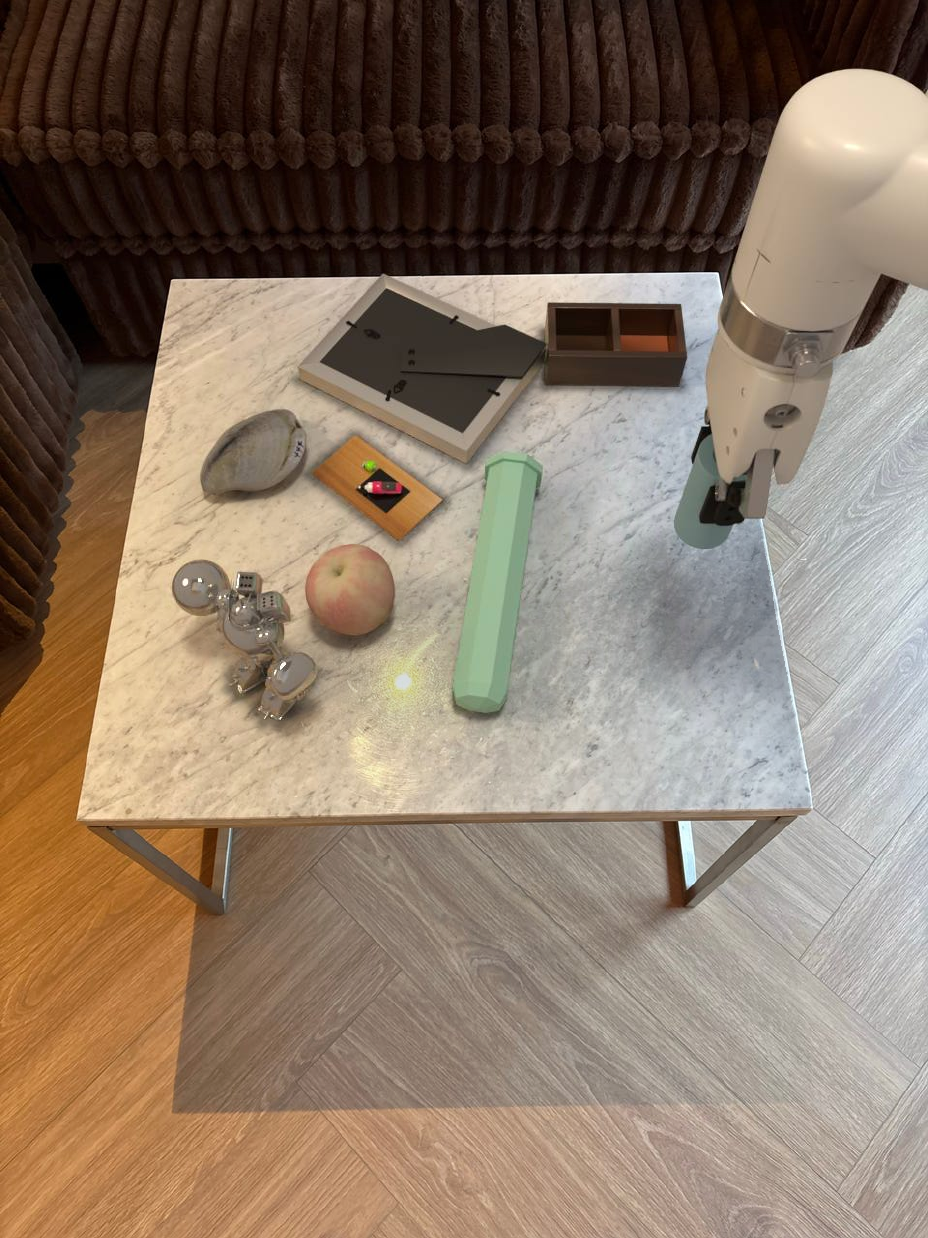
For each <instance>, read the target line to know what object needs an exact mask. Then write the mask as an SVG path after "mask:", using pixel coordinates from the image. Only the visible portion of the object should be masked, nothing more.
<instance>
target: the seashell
mask: <svg viewBox="0 0 928 1238" xmlns="http://www.w3.org/2000/svg"><path fill="white" fill-rule="evenodd" d="M307 439H308V436H307V433H306V431H305V429H304V427H303V425H302V424H301V423H300V420H299V419H298V418H297V416H296V414H295V413H294V412H293V411H291V410H290V409H284V408H281V409H280V408H277V409H272V410H266V411H262V412H260V413H259V412H258V413H257V414H254V415H251V416H250V417H247V418H245V419H243V420H240V421H238V422H237V423H235V424H233V425H232V426H230V427H229V428H227V430H225V431H224V432H223V433H222V435H220V437H219V438H218V439H217V440H216V442H215V443H214V445H213V446H212V447H211V449H210V451H209V452H208V453H207V454H206V457H205V458H204V460H203V463H202V466H201V469H200V473H199V474H200V475H199V481H200V486H201V489H202V491H203V492H205V493H207V494H210V495H213V496H219V495H221V494H223V493H227V492H229V491H235V490H236V491H237V490H238V491H242V492H257V491H263V490H267V489H270V488H272V487H274V486H276V485H278V484H280V483H281V482H282V481H283V480H285V479H286V478H287V477H288V476H289V475H290V474H291V473H293V472H294V471H295V469H296V468H297V466H298V465H299V463H300V462H301V460H302V458H303V456H304V452H305V450H306V443H307Z"/></svg>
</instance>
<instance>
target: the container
mask: <svg viewBox="0 0 928 1238" xmlns="http://www.w3.org/2000/svg"><path fill="white" fill-rule="evenodd" d="M543 469H544V465H543V464H541V463H540V462H539V461H537V460H536V459H535V458H533V456H531V455H530V454H529V453H523V452H514V451H508V450H503V451H500V452H498V453H496V454H494V455H492V456H490V457H488V458H486V459H485V463H484V481H485V482H486V486H485V492H484V498H483V502H482V503H483V504H482V510H481V516H480V522H479V527H478V533H477V538H476V545H475V550H474V555H473V556H474V557H473V564H472V569H471V575H470V580H469V587H468V593H467V598H466V603H465V611H464V616H463V622H462V628H461V634H460V640H459V645H458V653H457V659H456V664H455V669H454V674H453V675H454V676H453V680H452V681H453V683H452V693H453V698H454V701H455V704H456V705H457V706H459V707H461V708H463V709H464V710H467V711H469V712H477V713H483V714H488V713H493V712H498V711H500V710H501V708H502V707H503V705H504V703H505V702H506V701H507V696H508V695H507V694H508V690H509V689H508V688H509V681H510V675H511V668H512V660H513V653H514V646H515V640H516V639H515V638H516V631H517V625H518V617H519V609H520V605H521V604H520V603H521V597H522V596H521V595H522V588H523V582H524V577H525V576H524V574H525V568H526V560H527V555H528V554H527V553H528V548H529V547H528V546H529V540H530V533H531V525H532V518H533V511H534V504H535V496H536V489H538V488H540V487H541V486H542V479H543V478H542V477H543Z"/></svg>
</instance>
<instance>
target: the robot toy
mask: <svg viewBox="0 0 928 1238" xmlns="http://www.w3.org/2000/svg"><path fill="white" fill-rule="evenodd" d="M263 584H264V581H263V578H262V576H261V574H260V573H258V572H253V571H237V574H236V580H235V581H233V583H232V579H229V575H228V574H227V572H226V571H225V569H224V568H223V567H222V566H220V565H219V564H218V563H217V562H215V561H212V560H209V559H193V560H190V561H188V562H186V563H184V564H183V565H181V566H180V568H179V569H177V571H176V573H175V574H174V576H173V578H172V582H171V593H172V597H173V599H174V601H175V603H176V604H177V605H178V607H180V609H181V610H183V611H184V612H185V613H187V614H189V615H191V616H195V617H208V616H211V615H215V614H216V615H217V619H218V620H217V622H216V631H217V633H218V634H222V636H223V639H224V641H225V644H226V645H227V646H228V648H229V649H230V650H231V651H232V652H233V653H234V654H236V655H237V656H239V657H240V660H238V662H237V663H236V664H235V666H234V668H233V672H232V674H231V675H232V676H231V677H229V679H230V680H233V682H232V683H231V684H229V686H230V687H231V686H235V685H236V687H237V690H238V692H239V694H241V695H243V694H246V693H247V692H248V691H250V690H252V689H253V688H255V687H256V686H259V685H260V684H262V683H263V682H264V685H265V689H264V692H263V694H262V696H261V699H260V705H259V707H258V708H257V710H258V711H259V712H261V713H263V714H264V715H265V716H264V718H263V720H266V719H267V718H268V717H270V718H272V719H273V720H275V721H281V720H282V719H283V718H284V716H285V715H286V714H287V713H288V712H289V711H290V710H291V709H292V707H293V706H294V705H295V703H296V702H297V701H298V702H299V701H300V700H301V701H302V700H303V698H305V697H306V696H305V695H306V694H308V690H309V688H308V687H309V686H310V685H311V684H313V682H314V681H315V680H316V678H317V676H318V665H317V664H316V662H315V661H314V659H313V658H312V657H311V656H310V655H308V654H307V653H305V652H302V651H296V652H292V653H288V652H287V651H284V649H283V648H282V645H283V643H284V640H285V635H286V634H285V633H286V631H285V624H286V623H290V622H291V620H292V618H291V617H292V616H291V615H292V613H291V608H290V606H289V603H288V602H287V599H286V598H285V596H284V595H283V594H282V593H280V592H278V591H277V590H268V591H265V592H263ZM234 586H235V587H234ZM240 596H243V597H241V598H240ZM264 668H265V669H266V670H267V672H265V670H264Z"/></svg>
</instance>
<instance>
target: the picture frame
mask: <svg viewBox="0 0 928 1238" xmlns="http://www.w3.org/2000/svg"><path fill="white" fill-rule="evenodd" d="M546 344H547V343H545V341H543V340H540V339H538V338H536V337H534V336H532V335H529V334H527V333H525V332H523V331H520V330H519V329H516V328H513V327H512V326H510V325H508V324H501V325H500V324H499V325H496V324H494V323H492V322H489V321H487V320H485V319H483V318H481V317H478V316H476V315H474V314H472V313H470V312H467V311H465V310H463V309H461V308H459V307H457V306H454V305H452V304H450V303H448V302H446V301H443V300H442V299H439V298H437V297H435V296H433V295H430V294H429V293H426V292H425V291H422V290H420V289H418V288H416V287H413V286H411V285H409V284H407V283H405V282H402V281H400V280H398V279H396V278H394V277H391V276H390V275H388V274H385V273H382V274H381V275H379V277H378V278H377V279H376V280H375V281H374V282H373V284H371V286H369V288H367V290H366V291H365V292H364V293H363V294H362V296H360V297H359V299H358V300H357V301H356V302H355V303H354V304H353V305H352V307H350V308H349V309H348V311H347V312H346V313H345V314H344V315H343V316H342V317H341V318H340V320H339V321H338V322H337V323H336V324H335V325H334V326H333V327H332V328H331V329H330V330H329V331H328V333H326V335H325V336H324V337H323V338H322V339H321V340H320V341H319V342H318V343H317V345H316V346H314V348H313V349H312V350H311V351H310V352H309V353H308V355H307V356H306V357H305V358H304V359H303V360H302V361H301V362H300V363H299V364H298V366H297V369H298V374H299V379H300V381H302V382H304V383H306V384H308V385H310V386H312V387H314V388H316V389H318V390H320V391H322V392H324V393H326V394H328V395H329V396H330V395H331V396H332V397H334V398H336V399H338V400H340V401H342V402H344V403H345V404H348V405H350V406H352V407H354V408H356V409H357V410H359V411H361V412H363V413H365V414H368V415H369V416H372V417H373V418H375V419H378V420H380V421H381V422H383V423H385V424H387V425H389V426H391V427H393V428H395V429H396V430H398V431H401V432H403V433H404V434H407V435H409V436H410V437H412V438H415V439H417V440H419V441H421V442H423V443H425V444H427V445H429V446H431V447H432V448H434V449H436V450H438V451H440V452H442V453H443V454H446V455H448V456H450V457H452V458H454V459H456V460H458V461H460V462H462V463H465V465H468V463H469V462H470V461H471V459H473V456H475V454H476V453H477V451H478V450H479V449H480V448H481V446H482V445H483V443H484V442H485V441H486V439H487V438H488V437H489V436H490V434H491V433H492V432H493V431H494V429H495V428H496V426H497V425H498V424H499V422H500V421H502V419H503V417H504V416H505V415H506V413H507V412H508V411H509V410H510V408H511V407H512V406H513V404H514V403H515V402H516V401H517V399H518V398H519V397H520V395H521V394H522V393H523V392H524V390H525V388H526V387H528V385H529V384H530V383H531V381H532V380H533V378H534V377H535V376H536V374H537V373H538V372H539V370H540V369H541V368H542V366H543V365H545V354H546V348H545V346H546Z"/></svg>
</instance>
